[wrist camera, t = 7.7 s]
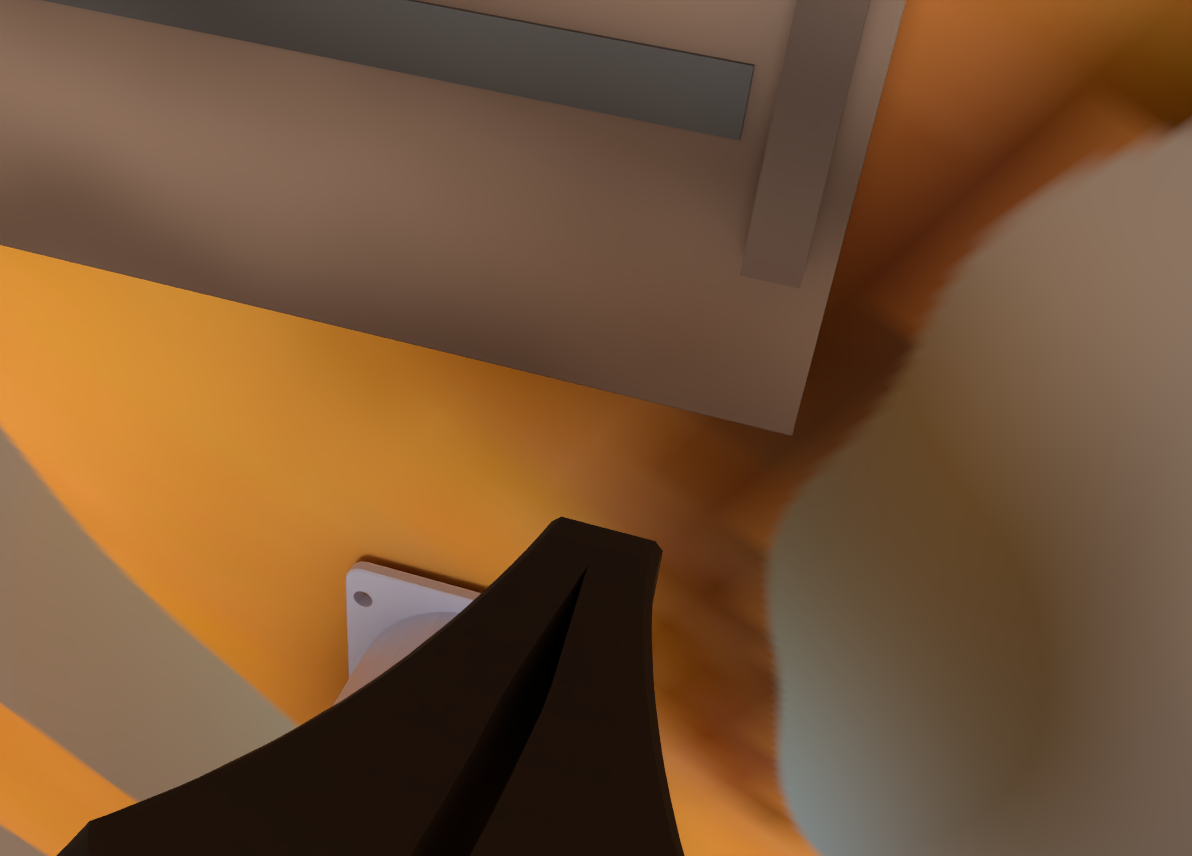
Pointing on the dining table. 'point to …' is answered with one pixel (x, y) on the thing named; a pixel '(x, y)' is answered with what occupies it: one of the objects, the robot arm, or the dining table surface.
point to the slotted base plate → (466, 172)
